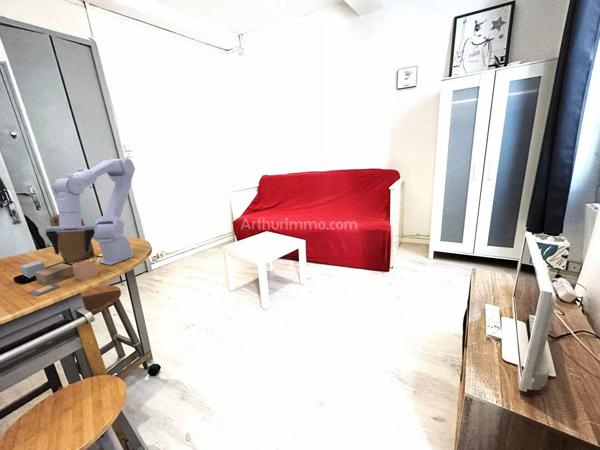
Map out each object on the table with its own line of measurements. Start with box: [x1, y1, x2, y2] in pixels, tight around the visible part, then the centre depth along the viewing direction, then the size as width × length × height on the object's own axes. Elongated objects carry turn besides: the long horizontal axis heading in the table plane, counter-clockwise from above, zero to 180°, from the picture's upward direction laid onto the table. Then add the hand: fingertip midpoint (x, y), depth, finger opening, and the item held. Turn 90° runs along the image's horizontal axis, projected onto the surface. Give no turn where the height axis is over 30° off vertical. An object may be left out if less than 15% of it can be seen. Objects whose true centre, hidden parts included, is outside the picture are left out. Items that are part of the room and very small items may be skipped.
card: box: [28, 283, 61, 297], centre depth 87 cm, size 6×6×1 cm
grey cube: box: [19, 260, 46, 278], centre depth 97 cm, size 5×5×5 cm
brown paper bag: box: [49, 214, 95, 263], centre depth 111 cm, size 11×8×20 cm
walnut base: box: [34, 262, 75, 286], centre depth 94 cm, size 8×8×4 cm
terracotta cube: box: [71, 260, 100, 282], centre depth 94 cm, size 5×5×5 cm
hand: (72, 252), depth 90 cm, fingers open, 7 cm apart
